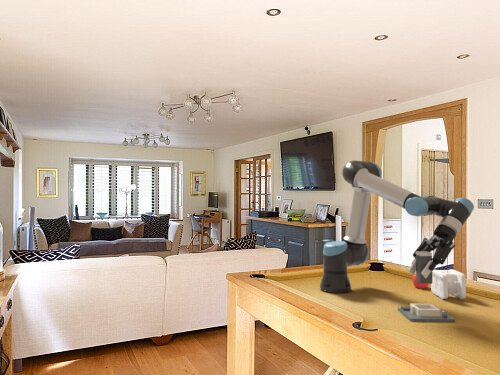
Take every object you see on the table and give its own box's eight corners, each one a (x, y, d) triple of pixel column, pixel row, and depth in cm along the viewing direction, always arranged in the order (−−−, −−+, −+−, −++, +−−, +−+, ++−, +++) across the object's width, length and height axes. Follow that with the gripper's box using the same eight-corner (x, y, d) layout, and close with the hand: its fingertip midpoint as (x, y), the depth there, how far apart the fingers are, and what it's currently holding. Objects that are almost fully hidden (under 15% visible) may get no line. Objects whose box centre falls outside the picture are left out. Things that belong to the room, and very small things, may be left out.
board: (410, 321, 141) (410, 311, 141) (397, 310, 155) (397, 301, 155) (455, 321, 140) (454, 312, 140) (437, 310, 154) (437, 301, 154)
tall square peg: (420, 283, 146) (420, 252, 146) (416, 280, 150) (415, 251, 150) (432, 283, 145) (432, 252, 146) (427, 281, 150) (427, 251, 150)
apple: (426, 285, 197) (425, 270, 197) (432, 289, 189) (431, 273, 189) (410, 285, 198) (410, 270, 198) (415, 289, 190) (415, 273, 190)
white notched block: (467, 301, 167) (467, 274, 168) (442, 301, 168) (442, 274, 169) (452, 293, 182) (452, 268, 183) (429, 292, 183) (429, 268, 184)
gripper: (473, 238, 145) (442, 285, 139) (433, 234, 163) (403, 275, 156) (463, 225, 143) (431, 272, 137) (423, 222, 161) (393, 263, 154)
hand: (416, 274), depth 146 cm, fingers closed on tall square peg, 6 cm apart
